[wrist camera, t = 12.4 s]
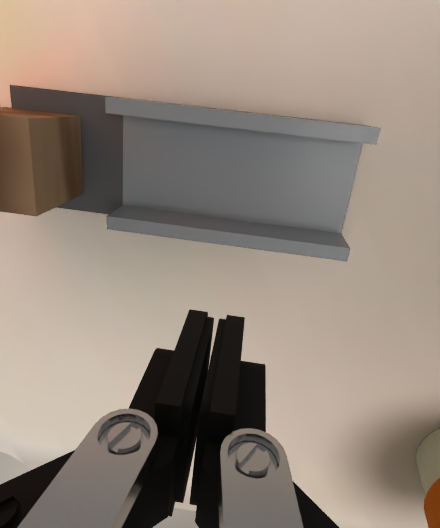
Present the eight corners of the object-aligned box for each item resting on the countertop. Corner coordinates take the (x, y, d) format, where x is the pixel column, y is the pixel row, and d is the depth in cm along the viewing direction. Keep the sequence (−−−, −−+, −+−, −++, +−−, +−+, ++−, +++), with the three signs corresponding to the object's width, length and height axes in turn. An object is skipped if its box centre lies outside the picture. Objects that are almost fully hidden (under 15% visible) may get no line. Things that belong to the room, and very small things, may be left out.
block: (80, 116, 29) (28, 118, 23) (83, 193, 31) (36, 216, 25) (5, 107, 30) (-68, 107, 23) (13, 184, 32) (-51, 204, 25)
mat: (125, 98, 29) (124, 97, 29) (124, 215, 33) (123, 216, 32) (12, 85, 30) (9, 85, 29) (23, 201, 33) (21, 202, 33)
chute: (365, 125, 28) (380, 128, 24) (337, 243, 32) (347, 261, 28) (125, 98, 29) (105, 96, 25) (124, 215, 33) (106, 229, 29)
